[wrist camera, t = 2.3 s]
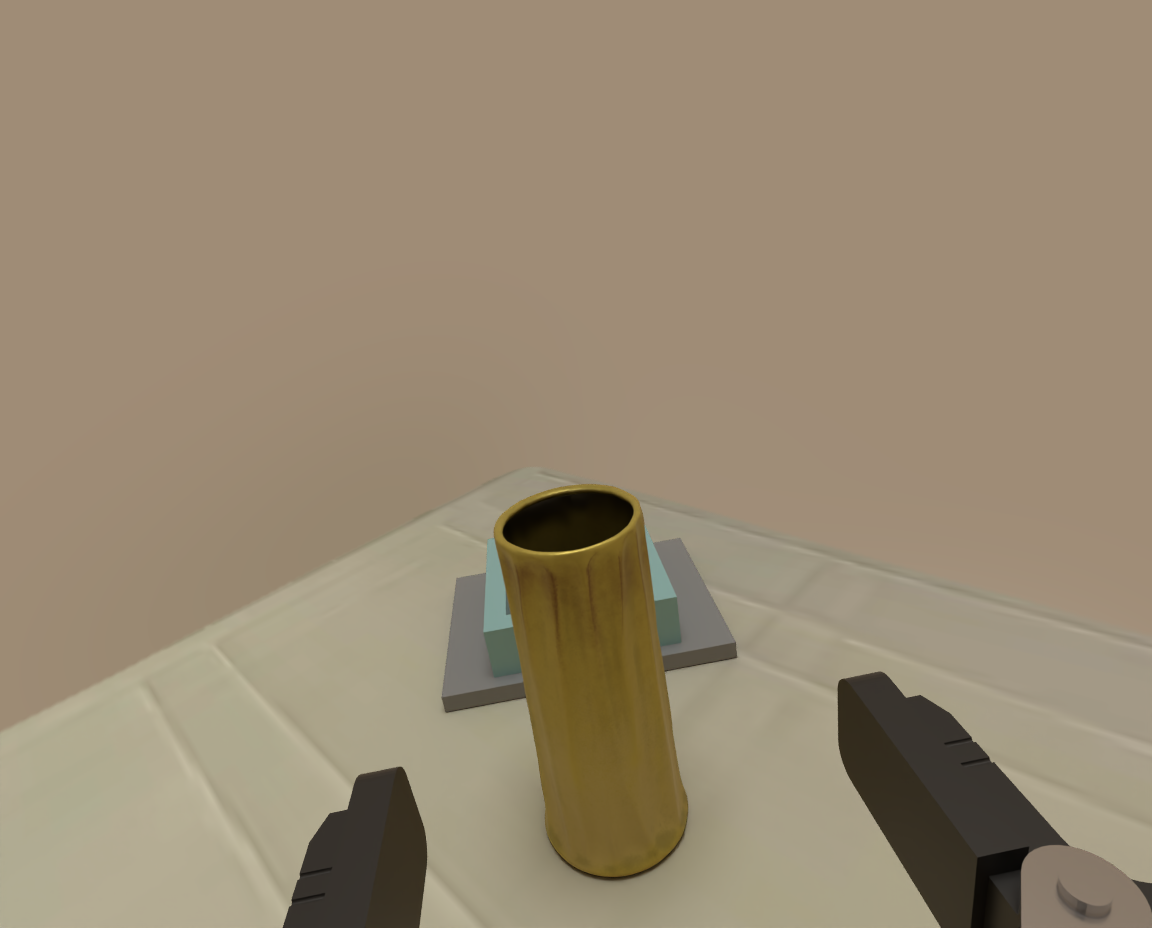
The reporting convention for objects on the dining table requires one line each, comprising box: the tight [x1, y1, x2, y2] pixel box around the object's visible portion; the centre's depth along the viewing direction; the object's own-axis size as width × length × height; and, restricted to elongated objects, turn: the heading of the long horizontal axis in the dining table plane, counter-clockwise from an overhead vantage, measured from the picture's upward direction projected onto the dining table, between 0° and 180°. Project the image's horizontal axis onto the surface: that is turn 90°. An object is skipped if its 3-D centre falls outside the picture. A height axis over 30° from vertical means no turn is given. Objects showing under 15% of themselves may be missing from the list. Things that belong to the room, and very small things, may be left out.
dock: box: [442, 524, 737, 712], centre depth 40 cm, size 16×12×4 cm
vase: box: [494, 484, 688, 877], centre depth 25 cm, size 6×6×14 cm
